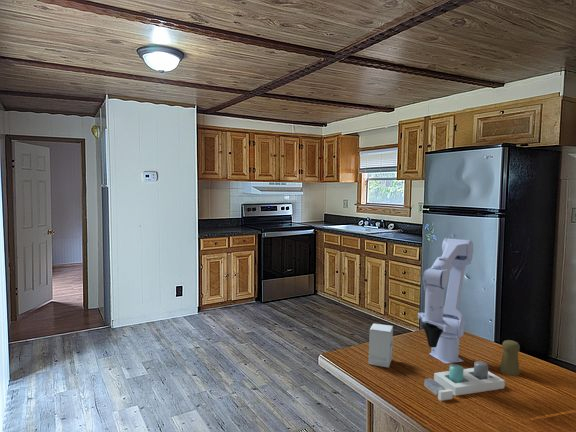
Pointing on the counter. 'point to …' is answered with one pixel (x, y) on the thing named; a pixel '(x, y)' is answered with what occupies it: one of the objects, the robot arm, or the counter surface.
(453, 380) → the teal rounded block
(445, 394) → the block
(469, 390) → the housing
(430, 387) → the bar
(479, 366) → the grey rounded block
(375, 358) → the supplement box
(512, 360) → the cork
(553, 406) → the counter surface
